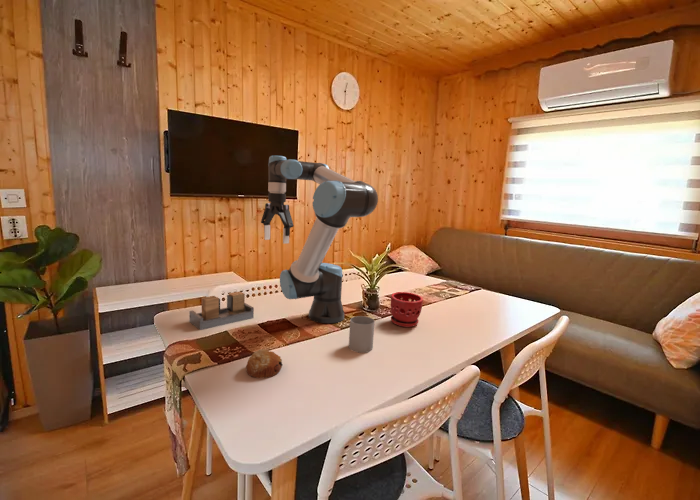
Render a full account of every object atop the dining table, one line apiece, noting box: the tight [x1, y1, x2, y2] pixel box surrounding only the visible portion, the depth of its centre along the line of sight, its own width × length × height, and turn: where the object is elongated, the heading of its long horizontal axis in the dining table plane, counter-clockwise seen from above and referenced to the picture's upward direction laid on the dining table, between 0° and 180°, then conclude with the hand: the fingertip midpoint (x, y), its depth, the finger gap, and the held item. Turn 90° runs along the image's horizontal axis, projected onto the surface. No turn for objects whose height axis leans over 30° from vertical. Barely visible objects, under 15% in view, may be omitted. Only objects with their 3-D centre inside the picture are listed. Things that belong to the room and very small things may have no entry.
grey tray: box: [188, 291, 254, 331], centre depth 144 cm, size 10×22×10 cm, turn 134°
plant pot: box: [390, 291, 424, 328], centre depth 152 cm, size 13×13×12 cm
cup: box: [348, 315, 375, 354], centre depth 126 cm, size 8×8×10 cm
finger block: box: [200, 295, 221, 320], centre depth 141 cm, size 4×6×8 cm
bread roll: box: [245, 348, 283, 379], centre depth 107 cm, size 10×10×8 cm
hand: (276, 241), depth 160 cm, fingers open, 13 cm apart
